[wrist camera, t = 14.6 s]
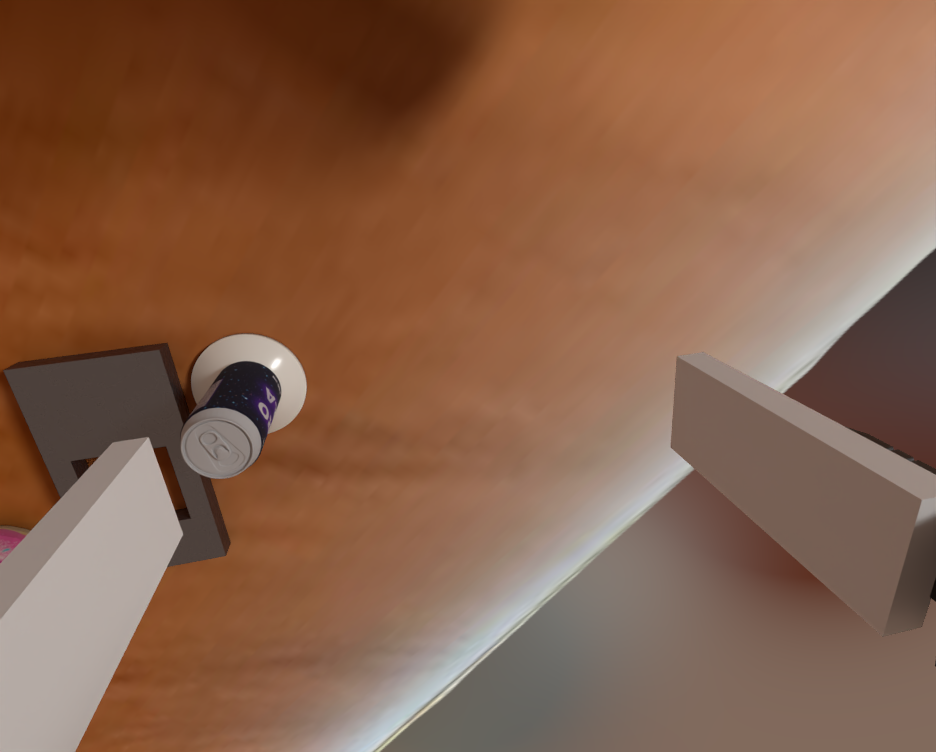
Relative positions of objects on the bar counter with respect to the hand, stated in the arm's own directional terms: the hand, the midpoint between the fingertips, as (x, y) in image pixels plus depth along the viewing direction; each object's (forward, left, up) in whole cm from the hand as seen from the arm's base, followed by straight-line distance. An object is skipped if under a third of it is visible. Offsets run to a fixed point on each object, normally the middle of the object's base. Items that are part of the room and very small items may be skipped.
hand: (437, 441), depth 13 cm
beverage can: (+11, -14, -36) cm, 40 cm away
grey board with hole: (+17, -26, -37) cm, 48 cm away
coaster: (+11, -14, -37) cm, 41 cm away
